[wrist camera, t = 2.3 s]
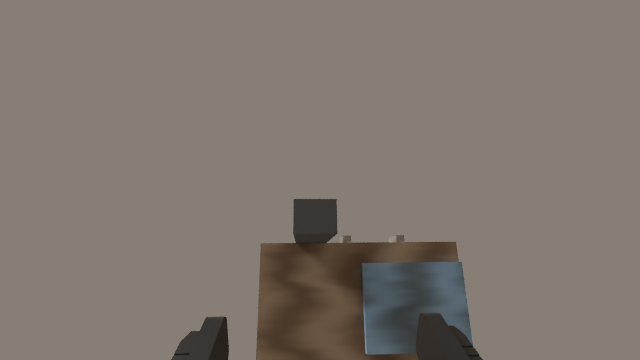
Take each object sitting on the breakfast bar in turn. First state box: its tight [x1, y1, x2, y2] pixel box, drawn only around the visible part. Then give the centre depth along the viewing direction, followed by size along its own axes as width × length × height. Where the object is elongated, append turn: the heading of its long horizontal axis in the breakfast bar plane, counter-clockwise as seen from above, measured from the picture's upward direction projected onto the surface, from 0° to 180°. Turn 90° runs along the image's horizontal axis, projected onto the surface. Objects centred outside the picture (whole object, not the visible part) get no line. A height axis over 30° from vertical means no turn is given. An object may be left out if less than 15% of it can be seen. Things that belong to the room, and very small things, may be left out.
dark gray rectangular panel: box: [293, 199, 337, 243], centre depth 34 cm, size 3×28×2 cm, turn 3°
